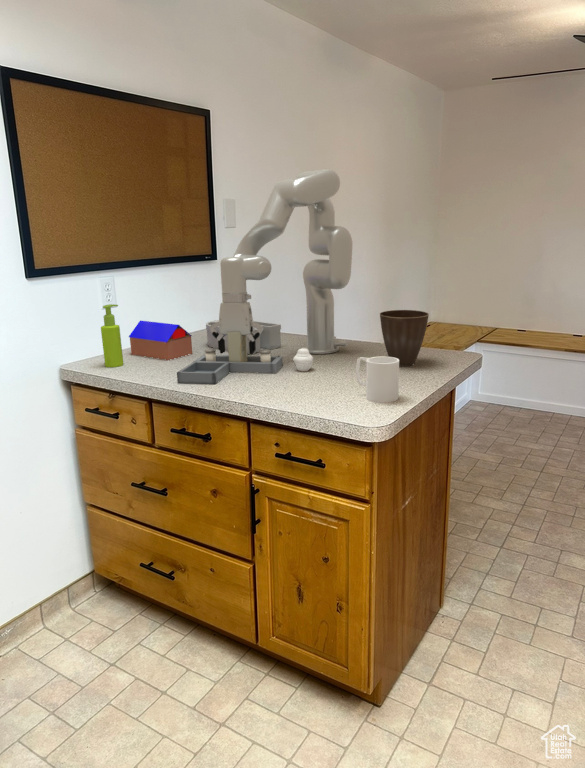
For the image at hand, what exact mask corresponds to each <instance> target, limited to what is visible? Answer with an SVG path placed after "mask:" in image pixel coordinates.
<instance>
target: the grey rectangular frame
mask: <svg viewBox="0 0 585 768" xmlns="http://www.w3.org/2000/svg"><path fill="white" fill-rule="evenodd" d="M283 359H284V356H283V355H282V356H281V355H280V356H279V355H278V356H277V355H272V356H271V363H269V362H261V360H260V355H247V362H229V354H228V355H227V354H224V355H223V354H222V355H221V354H216V361H206V355H205V354H203V355H201V356H199V357H198V358H196V359H195V360H193V361H192V362H229V366H230V373H236V372H258V373H257V374H277V373H278V372H279V370H281V368H282V367H283V365H284V360H283ZM276 372H277V373H276Z"/></svg>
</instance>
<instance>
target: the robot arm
mask: <svg viewBox="0 0 585 768" xmlns="http://www.w3.org/2000/svg"><path fill="white" fill-rule="evenodd" d="M340 186H341V180H340V176H339V175H338V173H336V171H334V170H333V169H330V168H329V169H328V168H326V169H325V168H324V169H317V170H308V171H303V172H300V173H299V174H297V176H295V178H289V179H286V178H285V179H282V180H279V181H278V182H276V183H275V185H274V186H273V188H272V190H271V193H270V194H269V197H268V199H267V202H266V204H265V205H264V208H263V211H262V213H261V215H260V216H259V219H258V221H257V222H256V223H255V224H254V225H253V226H252V227H251V228H250V229H249V231H248V232H247V233H246V234H245V235H244V236H243V237H242V238H241V240H240V242H239V243H238V245H237V247H236V249H235V252H234V253H233V256H231V257H229V256H228V257H227V256H226V257H223V258H222V259H221V260H220V264H219V265H220V282H221V283H220V284H221V298H222V302H221V303H220V304H219V305H220V306H219V313H218V315H219V316H218V320H219V322H217V323H215V324H213V325H211V326H210V327H209V329H210V331H211V333H212V335H213V336H214V337H215V338H216V340H217V341H218V351H219V354H223V353H225V352H226V350H225V340H224V339H223V337H224V336H225V335H227V332H241V335H247V337H248V338H249V339H250V342H249V351H250V354H251V355H254V354H253V353H254V351H255V350H256V343H255V340H256V339H257V338H258V337H259V336H260V335H261V332H262V330H263V326H261V325H259V324H257V323H255V322H253V321H254V318H253V311H252V307H251V306H252V305H251V303H250V302H249V301H248V300H251V299H252V294H249V293H248V292H247V281H249V280H250V281H263V280H265V279H266V278H268V277H270V275H271V273H272V264H271V261H270V260H269V259H268V258H267V257H265V256H263V255H258V253H259V251H260V250H261V249H262V248H263V247H264V246H265V245H267V244H269V243H270V242H272V241H273V240H275V239H278V238H279V237H280V236H281V235H283V233H284V232H285V231H286V227H287V225H288V223H289V220H290V218H291V216H292V214H293V211H295V210H294V209H295V208H301V207H303V208H304V207H307V210H308V214H309V215H308V216H309V219H308V220H309V221H308V222H309V223H308V248H309V251H310V252H311V253H312V254H314V255H316V256H328V259H325V258H323V259H322V258H321V259H319V258H317V259H312V260H310V261H308V262H307V263H306V264H305V265H304V267H303V271H302V277H303V278H302V279H303V283H304V288H305V297H306V339H307V340H306V341H307V342H306V343H307V345H305V346H303V347H302V348H305V349H308V350H309V353H310V354H312V355H324V354H332V353H336V352H338V351H339V347H347V346H348V341H347V340H343V339H341V340H340V339H339V340H338V339H337V336H335V299H334V294H333V292H332V290H343V289H344V288H345V287H347V285H348V284H349V282H350V281H351V276H352V275H351V274H352V263H353V262H352V260H353V258H352V257H353V238H352V235H351V233H350V231H349V230H348V228H346V227H345V226H341V225H335V223H336V222H335V217H336V216H335V212H336V211H335V207H334V203H333V202H332V200H331V198H332V197H334V196H335V195H336V194H337V193H338V192H339V190H340ZM218 326H219V331H220V334H219V333H218V332H217V331H216V330H215V328H216V327H218ZM254 327H255V328H256V329H257V333H256V334H255V335H254V334H253V329H254Z"/></svg>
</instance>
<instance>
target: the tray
mask: <svg viewBox="0 0 585 768" xmlns="http://www.w3.org/2000/svg"><path fill="white" fill-rule="evenodd" d="M229 372H230V366H229V362H193V361H192V362H191V363H189V364H188V365H186V366H185V367H183V368H181V369H180V370H178V371H177V372H176V378H177V379H176V380H177V381H176V382H177V384H189V385H190V384H193V385H194V384H195V385H198V384H199V385H216V384H218V383H219V382H220V381H221V380H223V379H224V378H225V377H226V376H227V375H228V373H229ZM230 373H231V372H230ZM230 373H229V374H230ZM224 376H225V377H224ZM223 377H224V378H223ZM222 378H223V379H222ZM218 381H219V382H218ZM217 382H218V383H217Z"/></svg>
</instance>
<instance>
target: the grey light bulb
mask: <svg viewBox="0 0 585 768" xmlns="http://www.w3.org/2000/svg"><path fill="white" fill-rule="evenodd" d="M216 350H217V349H215V348H211V347H209V348H205V349H204V355H206V361H216V355H217V354H216V352H217V351H216Z"/></svg>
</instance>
